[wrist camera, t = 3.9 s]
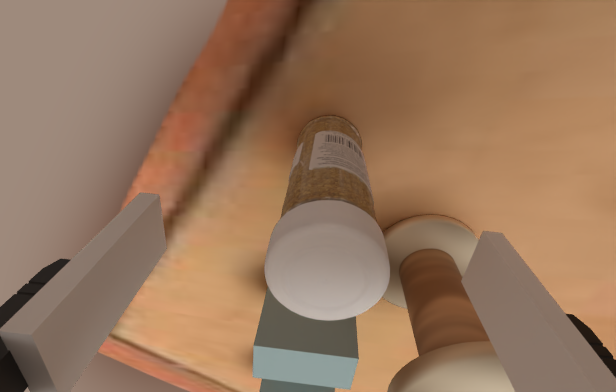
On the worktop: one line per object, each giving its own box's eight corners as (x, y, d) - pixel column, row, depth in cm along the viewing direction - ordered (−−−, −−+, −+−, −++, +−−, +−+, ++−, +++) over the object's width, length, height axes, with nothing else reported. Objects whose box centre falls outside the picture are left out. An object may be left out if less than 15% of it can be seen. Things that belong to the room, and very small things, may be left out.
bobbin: (380, 208, 26) (414, 353, 15) (498, 222, 25) (619, 378, 15) (360, 293, 30) (374, 452, 19) (460, 305, 30) (531, 472, 19)
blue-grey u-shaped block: (273, 265, 29) (253, 345, 22) (352, 274, 29) (358, 358, 22) (266, 370, 36) (250, 455, 29) (330, 378, 36) (329, 465, 29)
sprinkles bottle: (284, 145, 24) (235, 278, 12) (331, 99, 22) (327, 201, 10) (329, 186, 25) (325, 342, 13) (376, 146, 23) (420, 285, 11)
